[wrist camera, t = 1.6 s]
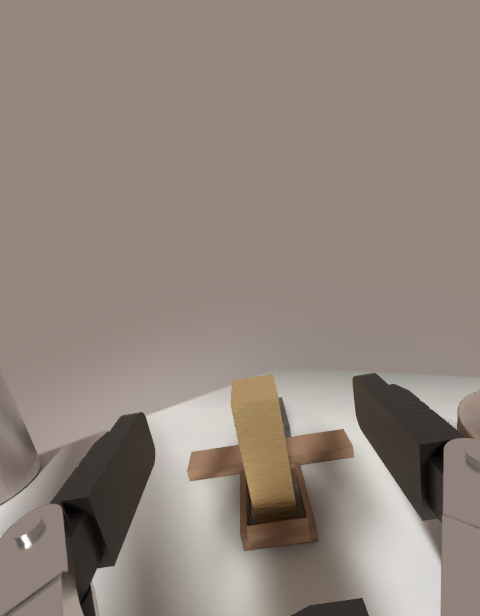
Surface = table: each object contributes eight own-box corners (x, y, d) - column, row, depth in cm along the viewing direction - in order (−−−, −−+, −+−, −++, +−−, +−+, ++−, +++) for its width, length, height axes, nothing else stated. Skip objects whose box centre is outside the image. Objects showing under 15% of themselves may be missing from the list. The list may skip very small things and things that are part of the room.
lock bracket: (172, 560, 24) (167, 543, 24) (202, 420, 43) (200, 410, 43) (393, 530, 23) (392, 513, 23) (324, 401, 43) (323, 390, 42)
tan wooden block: (258, 533, 25) (230, 405, 22) (255, 494, 29) (232, 380, 26) (299, 527, 25) (278, 397, 22) (291, 489, 29) (272, 374, 26)
